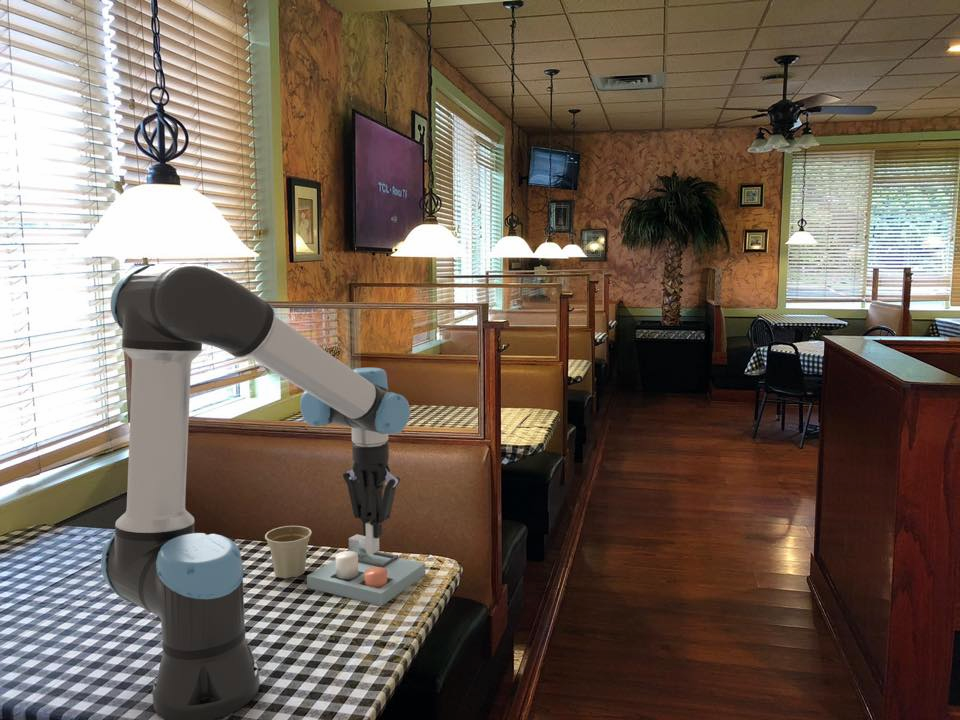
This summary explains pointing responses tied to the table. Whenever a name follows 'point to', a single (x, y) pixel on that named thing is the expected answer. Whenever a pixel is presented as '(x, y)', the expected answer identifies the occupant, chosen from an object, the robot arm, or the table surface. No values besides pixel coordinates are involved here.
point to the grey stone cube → (358, 545)
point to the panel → (398, 577)
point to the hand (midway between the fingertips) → (372, 551)
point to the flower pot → (288, 550)
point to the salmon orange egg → (376, 577)
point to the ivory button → (346, 564)
